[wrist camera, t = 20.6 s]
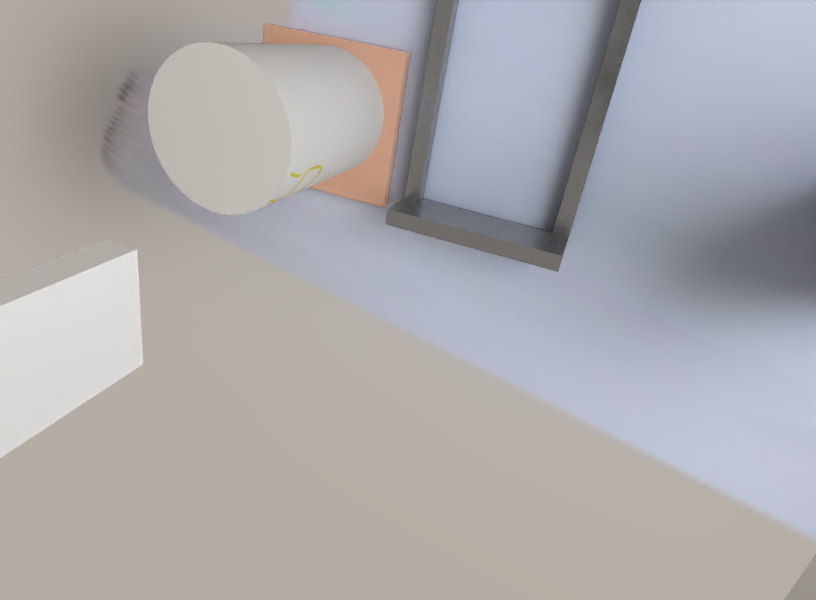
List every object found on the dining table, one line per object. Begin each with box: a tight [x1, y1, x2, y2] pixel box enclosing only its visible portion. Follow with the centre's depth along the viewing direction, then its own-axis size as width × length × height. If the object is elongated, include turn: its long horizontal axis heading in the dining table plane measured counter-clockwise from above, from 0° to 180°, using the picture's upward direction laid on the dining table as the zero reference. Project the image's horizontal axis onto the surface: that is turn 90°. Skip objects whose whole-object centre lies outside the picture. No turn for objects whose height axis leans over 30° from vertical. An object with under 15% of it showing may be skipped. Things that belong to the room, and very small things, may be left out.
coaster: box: [263, 24, 411, 207], centre depth 39 cm, size 10×10×1 cm
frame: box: [386, 0, 641, 272], centre depth 33 cm, size 19×11×4 cm, turn 170°
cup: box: [148, 42, 384, 215], centre depth 33 cm, size 8×8×12 cm
